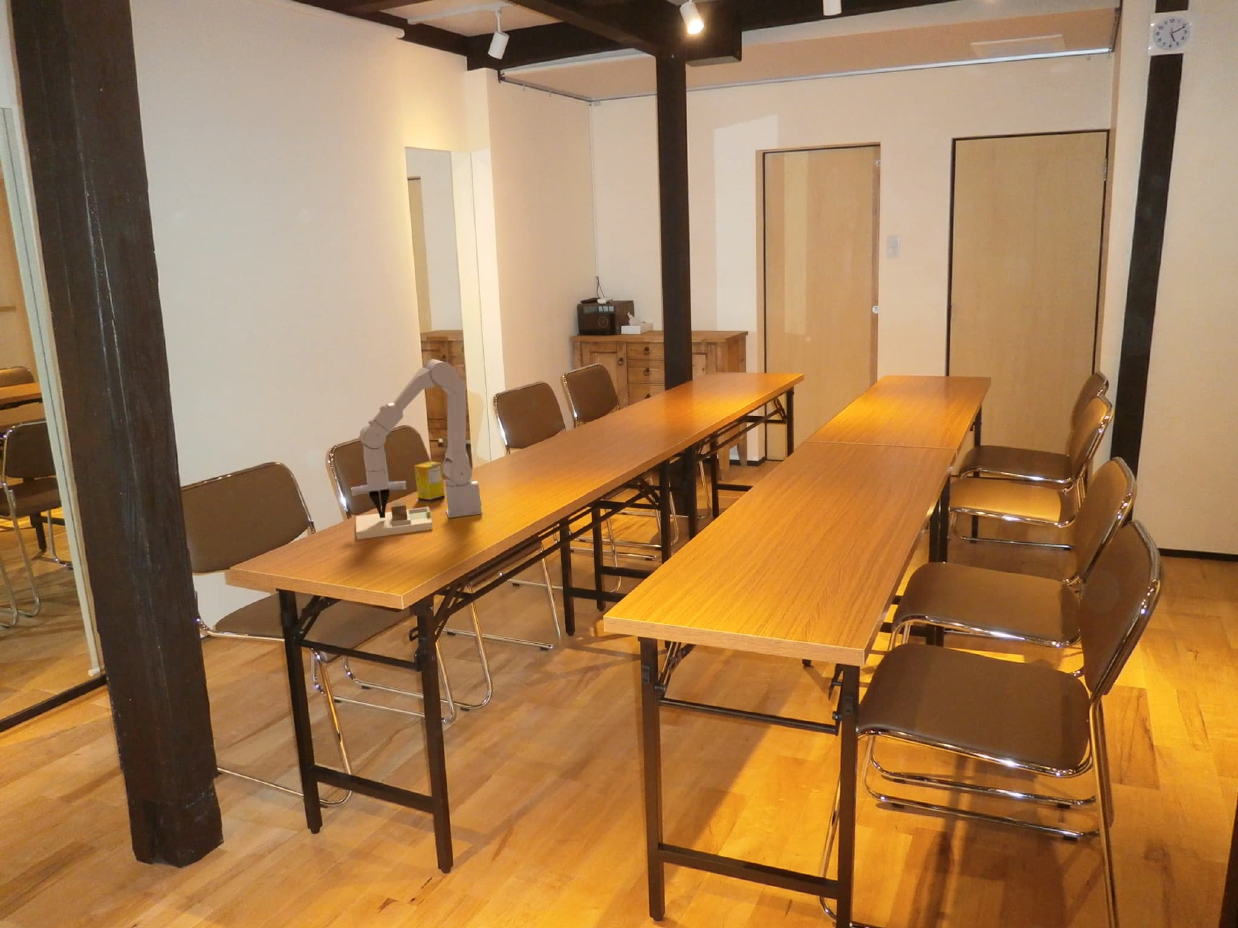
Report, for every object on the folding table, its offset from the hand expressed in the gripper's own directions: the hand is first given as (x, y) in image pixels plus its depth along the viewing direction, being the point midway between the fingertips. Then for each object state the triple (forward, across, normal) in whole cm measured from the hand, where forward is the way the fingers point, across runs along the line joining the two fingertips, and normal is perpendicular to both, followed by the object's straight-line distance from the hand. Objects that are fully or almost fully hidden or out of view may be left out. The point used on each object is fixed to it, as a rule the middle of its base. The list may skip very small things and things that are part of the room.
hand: (382, 517), depth 268 cm
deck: (+3, -3, 0) cm, 4 cm away
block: (+1, -5, 0) cm, 5 cm away
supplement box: (+3, -15, -26) cm, 30 cm away
